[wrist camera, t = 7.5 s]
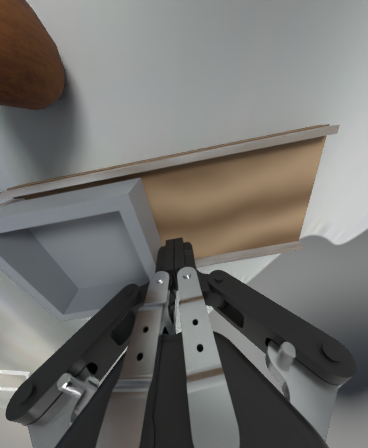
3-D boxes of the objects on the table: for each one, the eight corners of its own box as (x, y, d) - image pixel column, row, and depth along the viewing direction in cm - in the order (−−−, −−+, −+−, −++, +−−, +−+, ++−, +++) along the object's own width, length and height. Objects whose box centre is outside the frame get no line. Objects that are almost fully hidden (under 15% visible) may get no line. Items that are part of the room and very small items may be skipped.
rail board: (17, 185, 16) (-14, 195, 13) (318, 125, 15) (349, 122, 12) (85, 275, 23) (73, 293, 20) (291, 239, 22) (307, 253, 19)
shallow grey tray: (28, 196, 15) (-48, 227, 10) (144, 173, 15) (128, 193, 9) (87, 276, 21) (59, 321, 16) (171, 261, 21) (170, 303, 16)
